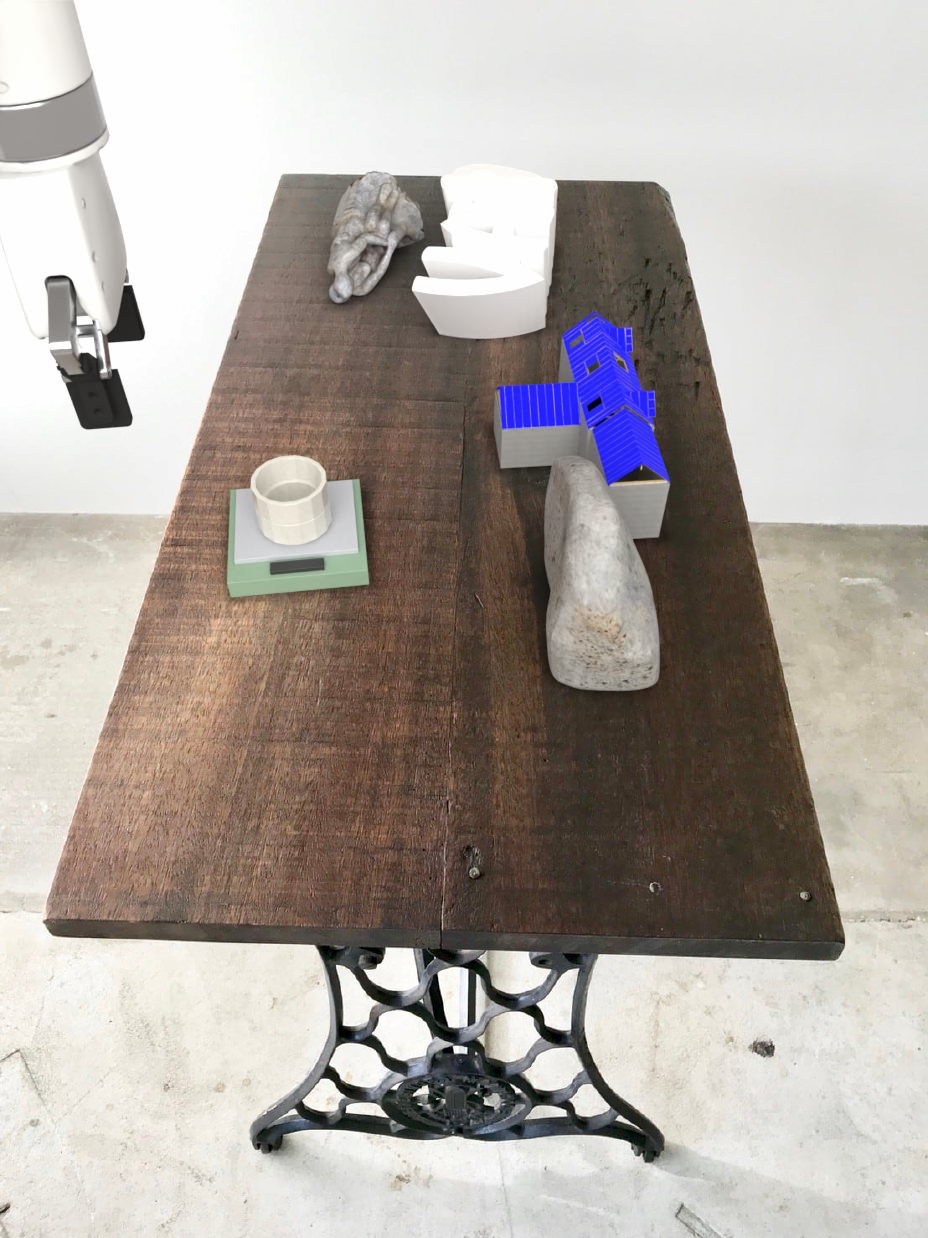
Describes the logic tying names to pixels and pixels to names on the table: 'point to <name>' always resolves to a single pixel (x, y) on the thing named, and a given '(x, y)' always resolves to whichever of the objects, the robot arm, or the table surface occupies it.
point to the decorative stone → (595, 587)
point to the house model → (591, 422)
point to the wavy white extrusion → (491, 254)
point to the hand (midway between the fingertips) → (116, 380)
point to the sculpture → (370, 233)
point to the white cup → (291, 499)
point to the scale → (297, 549)
